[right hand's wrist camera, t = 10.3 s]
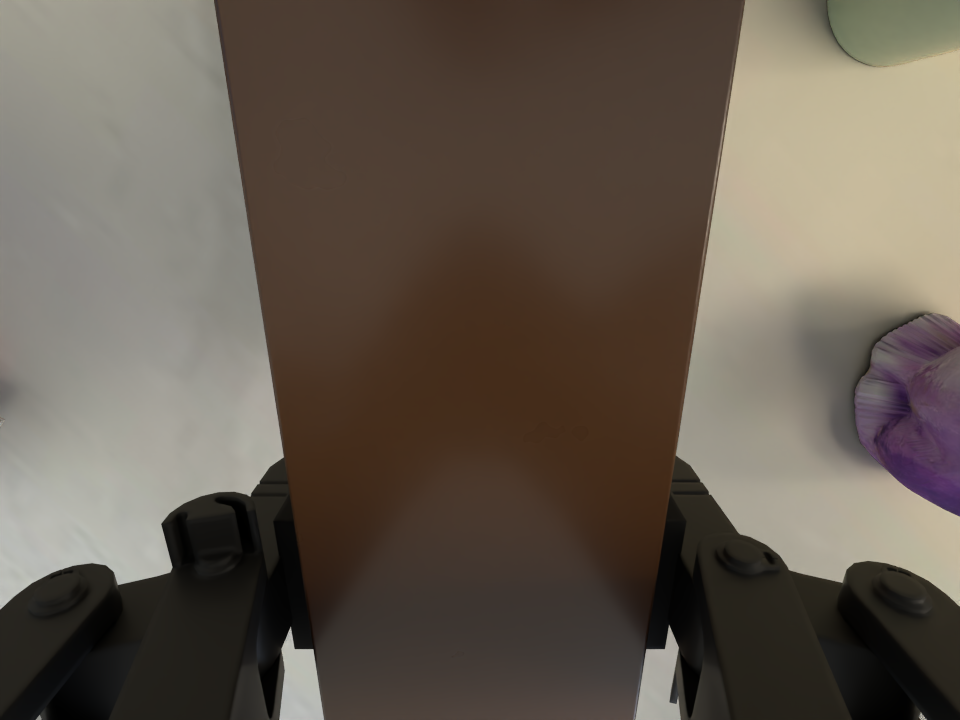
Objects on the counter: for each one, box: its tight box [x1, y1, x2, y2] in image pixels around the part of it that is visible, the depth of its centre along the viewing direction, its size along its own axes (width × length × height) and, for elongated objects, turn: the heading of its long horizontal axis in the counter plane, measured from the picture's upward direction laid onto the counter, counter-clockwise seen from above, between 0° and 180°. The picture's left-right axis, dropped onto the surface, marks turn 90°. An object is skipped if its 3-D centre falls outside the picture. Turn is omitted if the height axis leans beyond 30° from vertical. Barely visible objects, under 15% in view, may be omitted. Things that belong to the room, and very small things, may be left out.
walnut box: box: [214, 0, 745, 720], centre depth 8 cm, size 24×5×8 cm, turn 0°
